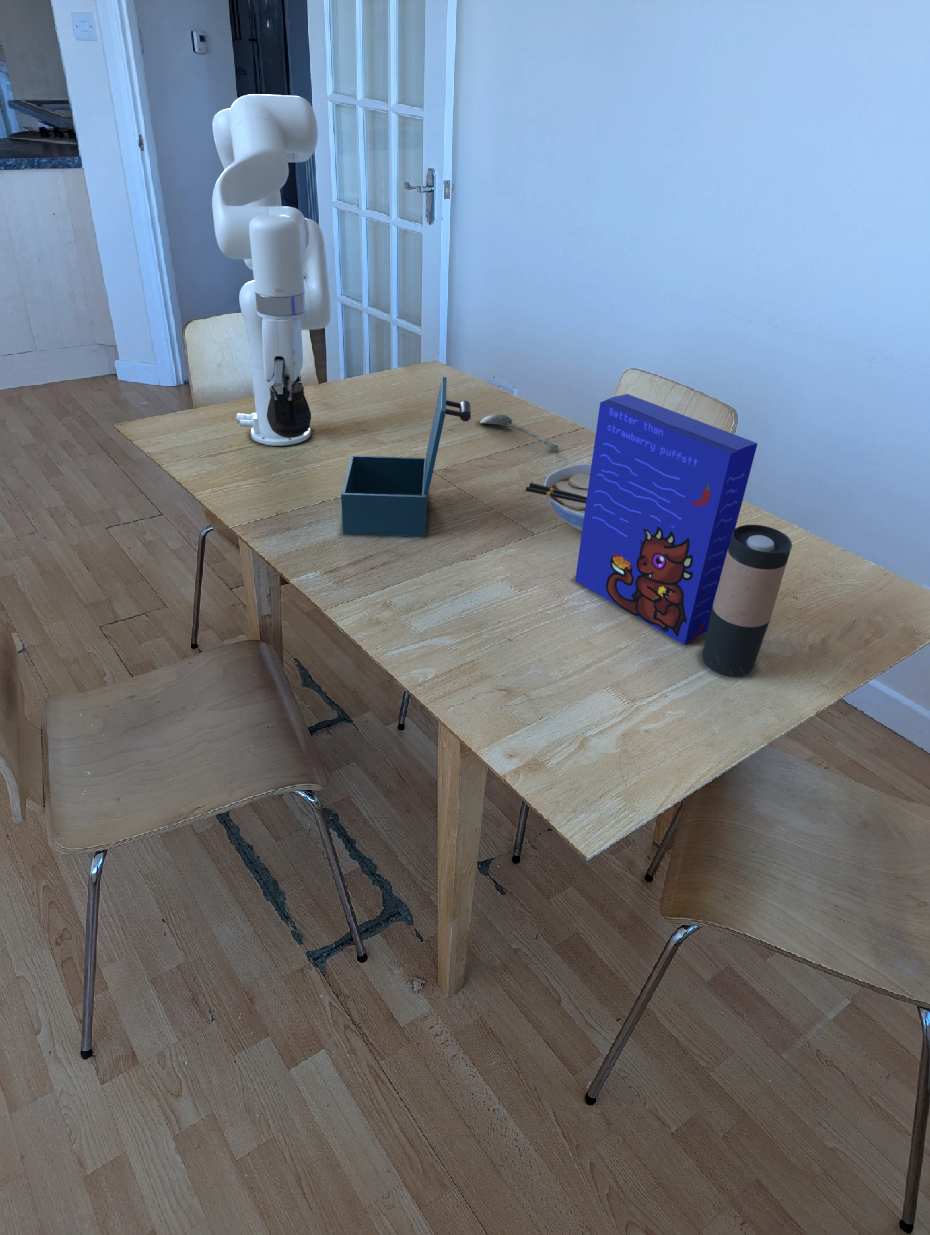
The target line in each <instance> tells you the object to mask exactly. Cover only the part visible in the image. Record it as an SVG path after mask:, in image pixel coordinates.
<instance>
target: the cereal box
mask: <svg viewBox="0 0 930 1235" xmlns="http://www.w3.org/2000/svg"><path fill="white" fill-rule="evenodd" d="M757 447H758V442H756V441H753V440H751V439H748V438H745V437H743V436H739V435H738V434H735V433H732V432H729V431H726V430H724V429H722V428H718V427H716V426H713V425H711V424H708V423H705V422H702V421H700V420H697V419H695V418H693V417H690V416H686V415H684V414H682V413H679V412H676V411H675V410H674V411H673V410H671V409H669V408H666V407H664V406H661V405H658V404H655V403H653V402H650V401H647V400H644V399H642V398H639V397H638V396H634V395H632V394H629V393H627V394H621V395H616V396H612V397H609V398H606V399H605V400H603V401H600V402H599V408H598V415H597V423H596V431H595V436H594V444H593V451H592V458H591V463H590V464H591V471H590V478H589V486H588V493H587V500H586V507H585V514H584V521H583V528H582V531H581V536H580V543H579V550H578V557H577V564H576V571H575V572H576V573H575V578H574V581H575V582H577V583H578V584H580V585H582V586H584V587H585V588H587V589H589V590H590V591H592V592H594V593H596V594H597V595H599V596H601V597H602V598H604V599H605V600H608V601H609V602H610V603H613V604H614V605H616V606H618V607H619V608H621V609H622V610H624V611H626V612H627V613H629V614H631V615H632V616H633V615H634V617H636V618H638V619H640V620H641V621H643V622H645V623H646V624H648V625H650V626H651V627H653V628H655V629H657V630H658V631H660V632H662V633H663V634H665V635H666V636H669V637H670V638H672V639H674V640H675V641H677V642H679V643H681V644H682V645H686V644H688V643H691V642H692V641H693V640H695V639H697V638H699V637H701V636H702V635H703V634H705V633H707V630H708V626H709V621H710V616H711V612H712V607H713V603H714V599H715V596H716V592H717V588H718V584H719V581H720V577H721V573H722V570H723V566H724V562H725V558H726V555H727V551H728V547H729V544H730V540H731V536H732V533H733V531H734V530H735V529H736V528H737V524H738V520H739V516H740V512H741V508H742V504H743V501H744V497H745V493H746V490H747V485H748V481H749V477H750V474H751V470H752V466H753V462H754V458H755V455H756V452H757Z"/></svg>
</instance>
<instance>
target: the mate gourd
mask: <svg viewBox="0 0 930 1235" xmlns="http://www.w3.org/2000/svg"><path fill="white" fill-rule="evenodd" d="M284 387H286V388H287V391H288V385H284ZM304 389H305V388H304V385H303V384H302V385H301V384H299V383H295V382H293V383H292V399H294V400H295V412H296V422H295V423H294V424H289V423H277V422H276V416H275V406H274V384H273V385H272V386H271V387H270V397H271V398H270V401H269V405H268V409H267V420H268V422H269V425H270V426H271V429H272V430H273V431H274V432H275V433H276V434H278V435H279V436H282V437H286V438H293V437H298V436H301V435H303V434H304V433H305V432H306V431H307V430H308V429H309V427H310V426H311V425H310V424H311V422H312V411H311V408H310V406H309V403H308V401H307V398H306V396H305V390H304ZM310 428H311V427H310Z"/></svg>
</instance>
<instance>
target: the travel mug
mask: <svg viewBox="0 0 930 1235" xmlns="http://www.w3.org/2000/svg"><path fill="white" fill-rule="evenodd" d="M792 547H793V541H792V540H791V538H790V537H789V536H788V535H787V534H785V533H784V532H782V531H780V530H778V529H776V528H773V527H770V526H767V525H761V524H744V525H740V526H738V527H737V526H736V528H735V530H734V531H733V533H732V536H731V540H730V544H729V547H728V551H727V555H726V558H725V562H724V566H723V570H722V573H721V577H720V581H719V584H718V588H717V592H716V596H715V599H714V603H713V607H712V612H711V616H710V621H709V626H708V630H707V632H706V636H705V640H704V645H703V650H702V655H701V656H702V657H701V658H702V661H703V663H704V664H705V666H706V667H707V668H709V669H710V670H711V671H713V672H715V673H716V674H718V675H722V676H726V677H734V678H736V677H743V676H747V675H748V674H750V673H751V672H752V671H753V668H754V666H755V663H756V662H757V658H758V656H759V652H760V651H761V647H762V644H763V642H764V638H765V635H766V633H767V629H768V628H769V624H770V621H771V618H772V615H773V611H774V608H775V605H776V601H777V599H778V598H777V597H778V594H779V591H780V588H781V584H782V581H783V578H784V574H785V570H786V567H787V564H788V560H789V558H790V554H791V551H792V549H793V548H792Z"/></svg>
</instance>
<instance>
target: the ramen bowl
mask: <svg viewBox="0 0 930 1235" xmlns="http://www.w3.org/2000/svg"><path fill="white" fill-rule="evenodd" d="M591 464H592V463H578V464H573V465H570V466H564V467H561V468H558V469H557V470H555V471H554V472H552V473H550V474H549V475H547V476H546V477H545V481H544V483H543V484H538V483H534V482H529V485H528V486H526V487H525V492H527V493H528V492H529V493H533V494H539V495H542V496H543V495H544V496H546V497H547V500H548V501H549V503H550V505H551V507H552V508H553V510H554V512H555V513H556V515H557V516H558V517H559V518H560V519H561V520H562V521H564V522H565V523H567V524H568V525H569V526H571V527H573V529H575V530H578V531H581V532H582V528H583V521H584V514H585V507H586V500H587V493H588V486H589V478H590V471H591Z"/></svg>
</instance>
